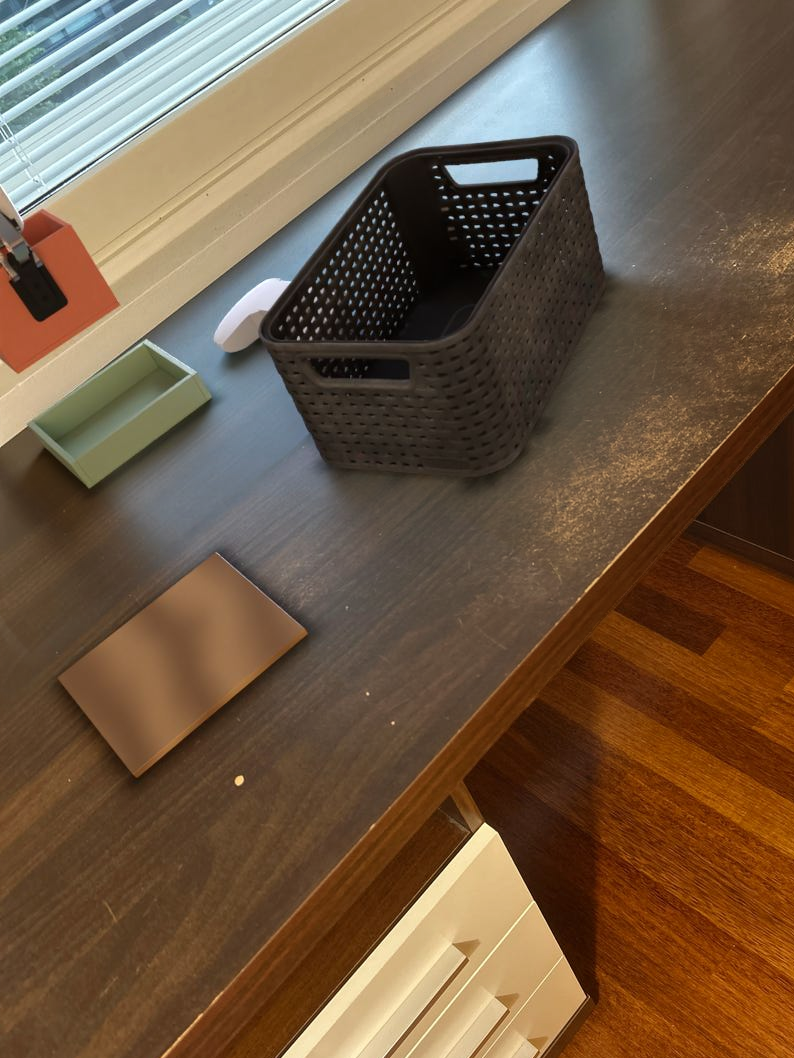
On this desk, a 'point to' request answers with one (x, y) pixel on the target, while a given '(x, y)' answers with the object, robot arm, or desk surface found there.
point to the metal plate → (179, 661)
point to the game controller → (255, 316)
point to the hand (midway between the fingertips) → (36, 300)
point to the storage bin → (441, 311)
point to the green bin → (119, 411)
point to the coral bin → (7, 322)
